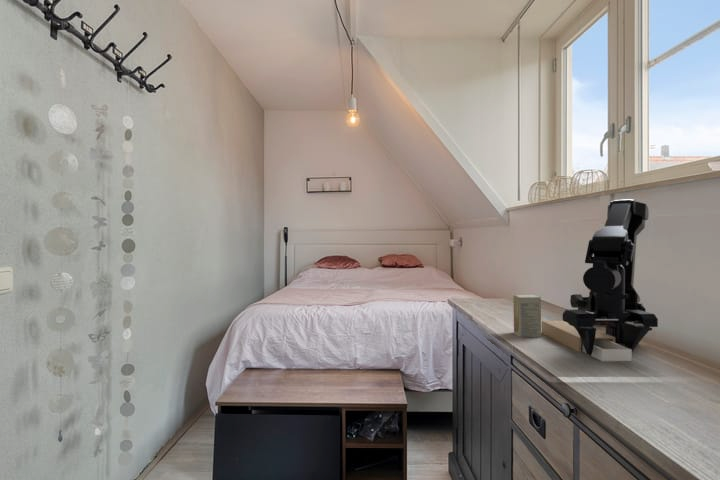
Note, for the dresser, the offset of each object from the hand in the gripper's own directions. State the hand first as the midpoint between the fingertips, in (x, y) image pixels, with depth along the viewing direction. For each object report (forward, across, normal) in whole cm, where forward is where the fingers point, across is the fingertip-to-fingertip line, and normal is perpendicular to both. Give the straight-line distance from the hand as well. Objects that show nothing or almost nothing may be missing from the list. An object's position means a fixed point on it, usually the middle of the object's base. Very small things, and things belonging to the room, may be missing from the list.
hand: (608, 354), depth 77 cm
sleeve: (+2, 0, -12) cm, 12 cm away
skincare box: (+2, +10, -18) cm, 20 cm away
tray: (+1, 0, -5) cm, 6 cm away
